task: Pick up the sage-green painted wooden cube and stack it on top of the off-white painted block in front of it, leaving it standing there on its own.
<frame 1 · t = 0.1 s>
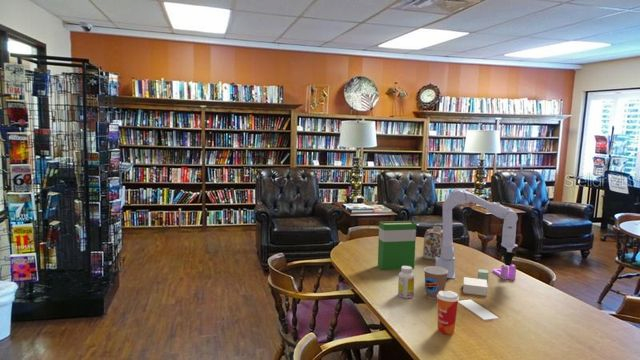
hand: (506, 262, 200), 10 cm above the table, tool pointing down, fingers open, 7 cm apart
coffee cup: (434, 296, 183), on the table
supplement bottle: (405, 296, 183), on the table
paper cup: (445, 331, 151), on the table
bracket: (502, 275, 213), on the table
green cube: (482, 280, 204), on the table
green cereal box: (395, 267, 222), on the table
decorative jar: (435, 257, 240), on the table
painted block: (474, 290, 191), on the table
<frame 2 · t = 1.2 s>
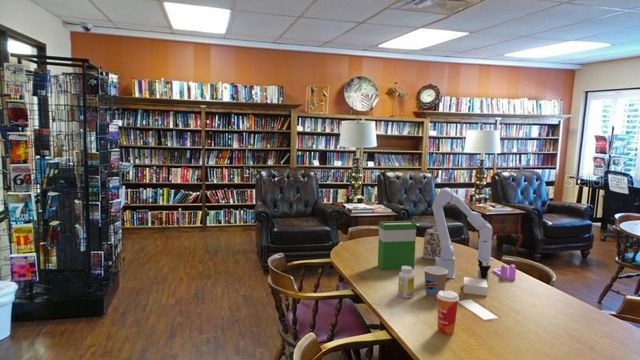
hand: (483, 276, 203), 2 cm above the table, tool pointing down, fingers open, 7 cm apart
nothing on the table moved.
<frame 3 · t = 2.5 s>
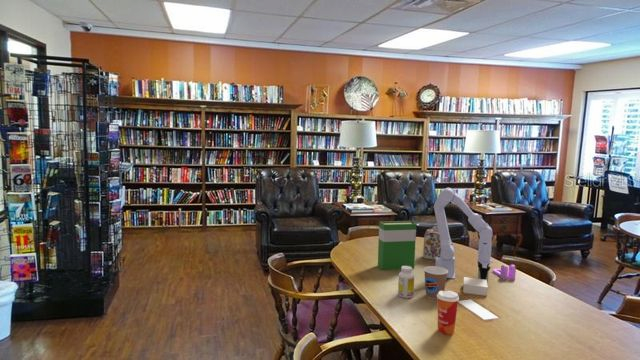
hand: (482, 277, 203), 1 cm above the table, tool pointing down, fingers closed on green cube, 4 cm apart
green cube: (482, 280, 204), on the table, touching gripper
everything else where it was.
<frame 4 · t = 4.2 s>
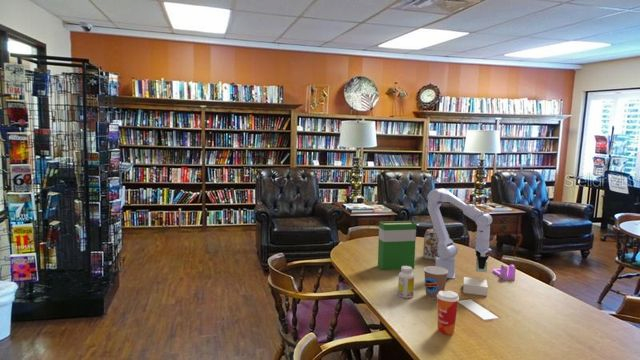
hand: (481, 267, 198), 8 cm above the table, tool pointing down, fingers closed on green cube, 4 cm apart
green cube: (481, 270, 198), point 7 cm above the table, touching gripper
everything else where it was.
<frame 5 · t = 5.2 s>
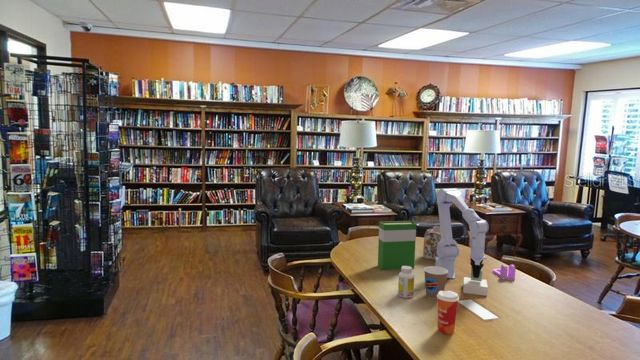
hand: (475, 275, 190), 7 cm above the table, tool pointing down, fingers closed on green cube, 4 cm apart
green cube: (476, 279, 190), point 5 cm above the table, touching gripper
everything else where it was.
when the fingers open (7 cm above the table, at t = 6.0 s): green cube drops 1 cm, resting on painted block.
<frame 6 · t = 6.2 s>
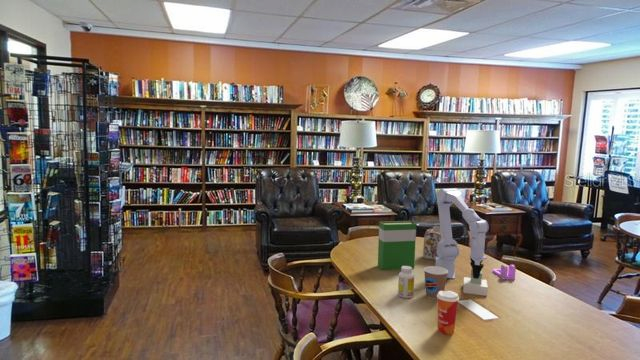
hand: (475, 275, 190), 7 cm above the table, tool pointing down, fingers open, 6 cm apart
green cube: (475, 282, 190), point 4 cm above the table, touching painted block
everything else where it was.
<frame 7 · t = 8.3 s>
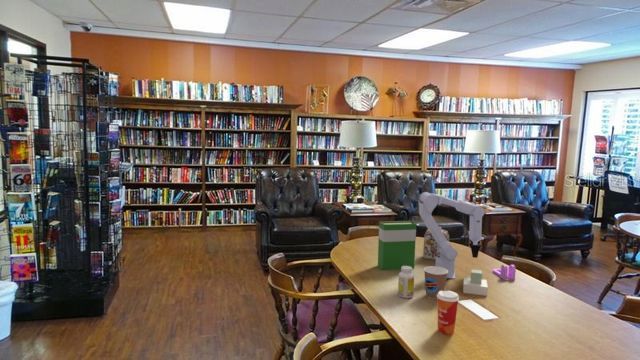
hand: (474, 255, 210), 10 cm above the table, tool pointing down, fingers open, 7 cm apart
nothing on the table moved.
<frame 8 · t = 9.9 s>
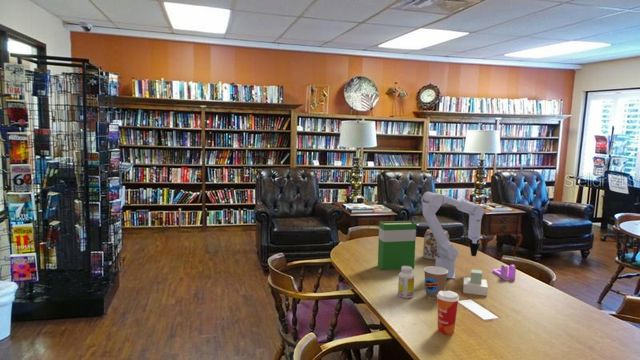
hand: (473, 253, 213), 10 cm above the table, tool pointing down, fingers open, 7 cm apart
nothing on the table moved.
at the end: green cube inside the target area on the painted block (0.2 cm from its centre), point 4.0 cm above the painted block's base; the gripper is holding nothing; green cube tilted 0° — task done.
